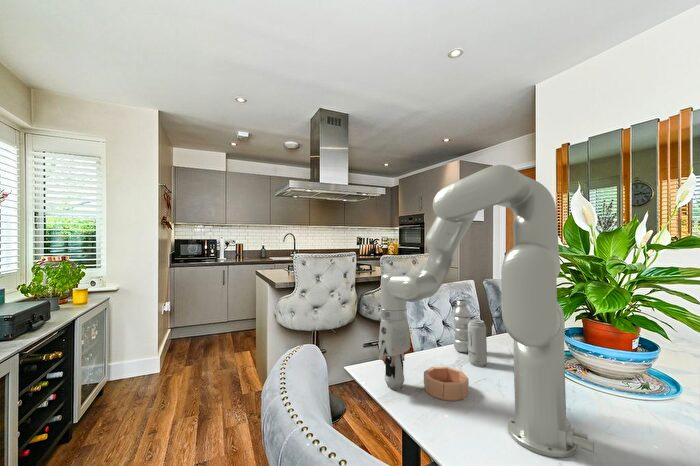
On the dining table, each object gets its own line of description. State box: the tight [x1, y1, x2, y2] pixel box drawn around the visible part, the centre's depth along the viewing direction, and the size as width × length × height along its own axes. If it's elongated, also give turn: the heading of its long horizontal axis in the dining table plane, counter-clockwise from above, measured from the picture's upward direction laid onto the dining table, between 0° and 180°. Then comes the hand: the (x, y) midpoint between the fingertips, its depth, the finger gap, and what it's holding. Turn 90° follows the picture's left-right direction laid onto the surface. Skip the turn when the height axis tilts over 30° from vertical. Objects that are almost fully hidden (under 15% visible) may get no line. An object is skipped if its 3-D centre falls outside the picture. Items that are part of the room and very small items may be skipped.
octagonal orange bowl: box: [423, 366, 470, 402], centre depth 87 cm, size 12×12×4 cm
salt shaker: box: [384, 355, 405, 391], centre depth 89 cm, size 6×6×13 cm
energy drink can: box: [467, 318, 488, 368], centre depth 106 cm, size 6×6×15 cm
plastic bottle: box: [452, 299, 472, 353], centre depth 118 cm, size 6×7×20 cm
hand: (394, 375), depth 89 cm, fingers open, 3 cm apart
